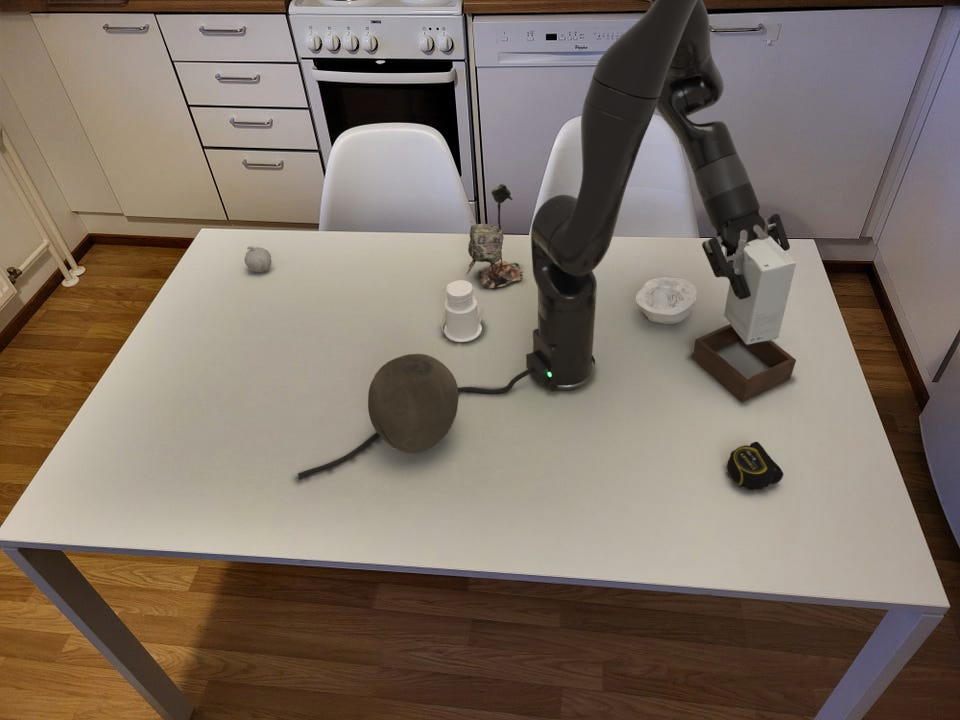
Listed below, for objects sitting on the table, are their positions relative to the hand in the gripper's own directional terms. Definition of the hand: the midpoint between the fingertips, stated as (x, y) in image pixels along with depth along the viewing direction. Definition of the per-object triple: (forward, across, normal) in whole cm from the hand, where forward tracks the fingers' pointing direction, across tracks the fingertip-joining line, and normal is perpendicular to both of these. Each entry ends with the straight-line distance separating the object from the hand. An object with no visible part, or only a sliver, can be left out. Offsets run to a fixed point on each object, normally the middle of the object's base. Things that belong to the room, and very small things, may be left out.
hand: (763, 290), depth 120 cm
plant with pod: (-19, -22, +45) cm, 54 cm away
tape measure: (+25, -14, 0) cm, 28 cm away
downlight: (-12, -36, +38) cm, 53 cm away
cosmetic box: (+5, 0, +7) cm, 9 cm away
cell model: (0, -2, +26) cm, 26 cm away
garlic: (-39, -62, +66) cm, 99 cm away
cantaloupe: (+2, -54, +24) cm, 59 cm away
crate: (+12, 0, +13) cm, 18 cm away
